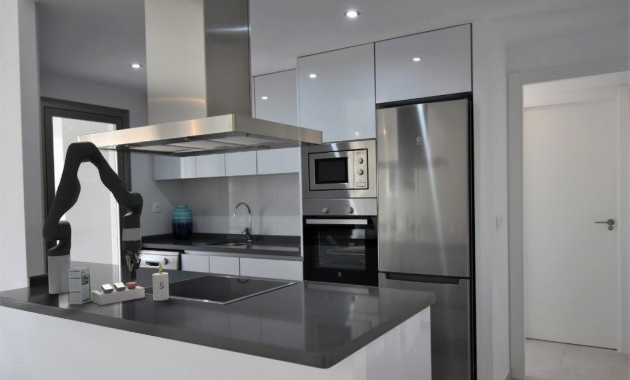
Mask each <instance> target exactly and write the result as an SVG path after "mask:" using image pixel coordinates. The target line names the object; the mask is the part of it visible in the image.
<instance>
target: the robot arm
mask: <svg viewBox="0 0 630 380" xmlns="http://www.w3.org/2000/svg"><path fill="white" fill-rule="evenodd" d="M84 163H91V164H92V165H94V167H96V169H97V170H98V176H99V178H100V180H101V181H100V182H101V183H102V184H103V186H104V187H105V188H107V189H108V191H109V192H111V194H112V196H113V198H114V200H115V201H116V203H117V204H118V205H119V206H120V207H121V208H123V209H127V213H126V214H124V215H123V217H122V234H121V235H122V250H123V251H125V252H126V255H125V256H124V260H125V261H124V262H125V264H126V268H127V269H128V270H129V279H130V280H132V281H135V280H137V271H138V270H139V268H140V265H141V262H142V258H141V257H140V254H139V251H140V250H141V249H143V247H142V246H143V245H142V243H143V242H142V229H141V215H142V212H143V206H144V198H143V196H142V194H141V193H140V192H138V191H129V190H128V189H127V188H128V185H127V183H126V182H125V181H124V179H123V178H122V176H121V177H120V175H119V174H118V173H117V172H116V171H115V170H114V169H113V168H112V166H111V165H110V164H109V162H108V161H107V159H106V158H105V156H104V155H103V154H102V152H101V151H100V149H99V148H98V147H97V145H96V144H95V143H94V142H92V141H89V140H84V141H83V140H82V141H73V142H71V143H70V144H69V145H68V146H67V149H66V153H65V159H64V165H63V168H62V169H63V170H62V172H61V175H60V179H59V183H58V186H57V188H56V191H55V196H54V200H53V202H52V205H51V208H50V210H49V213H48V215H47V217H46V220H45V222H44V225H43V227H42V237H43V239H44V240H45V241H46V242H55V241H56V242H57V241H58V243H57V244H56V245H55V246H53V247H52V248H49V249H48V250H47V266H48V268H47V269H48V294H50V295H58V294H59V295H60V294H61V295H62V294H65V293H66V294H67V293H70V290H69V271H68V270H69V269H72V267H71V266H72V263H71V262H72V261H71V260H72V259H71V258H72V257H71V249H72V225H71V223H70V221H69V220H65V219H64V220H61V219H62V217H64V215H65V214H67V212H68V211H70V210H71V209H73V207H74V206H75V205H76V204H77V202H78V201H79V197H80V194H81V191H82V186H81V183H80V179H79V176H78V174H79V173H78V172H79V168H80V165H81V164H84Z"/></svg>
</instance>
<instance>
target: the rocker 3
mask: <svg viewBox="0 0 630 380" xmlns="http://www.w3.org/2000/svg"><path fill="white" fill-rule="evenodd" d="M125 286H127V287H136V286H139V285H138V282H135V281H129V282H125Z"/></svg>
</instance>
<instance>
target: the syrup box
mask: <svg viewBox="0 0 630 380" xmlns="http://www.w3.org/2000/svg"><path fill="white" fill-rule="evenodd" d="M68 271H69V290H70V292H69V303H70V305H83V304H87V303H89V302H92V301H91V291H92V290H91V273H90V272H91V271H90V266H89V267H88V266H78V267H75V268H71V269H69V270H68Z"/></svg>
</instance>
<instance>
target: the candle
mask: <svg viewBox="0 0 630 380" xmlns="http://www.w3.org/2000/svg"><path fill="white" fill-rule="evenodd" d="M162 266H163V265H162V264H161V262H159V265H158V268H159V269H158V272H156V273H152V275H151V276H152V289H153V292H152V299H153V301H166V300H169V299H170V289H169V287H170V286H169V284H170V283H169V272H163V267H162Z"/></svg>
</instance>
